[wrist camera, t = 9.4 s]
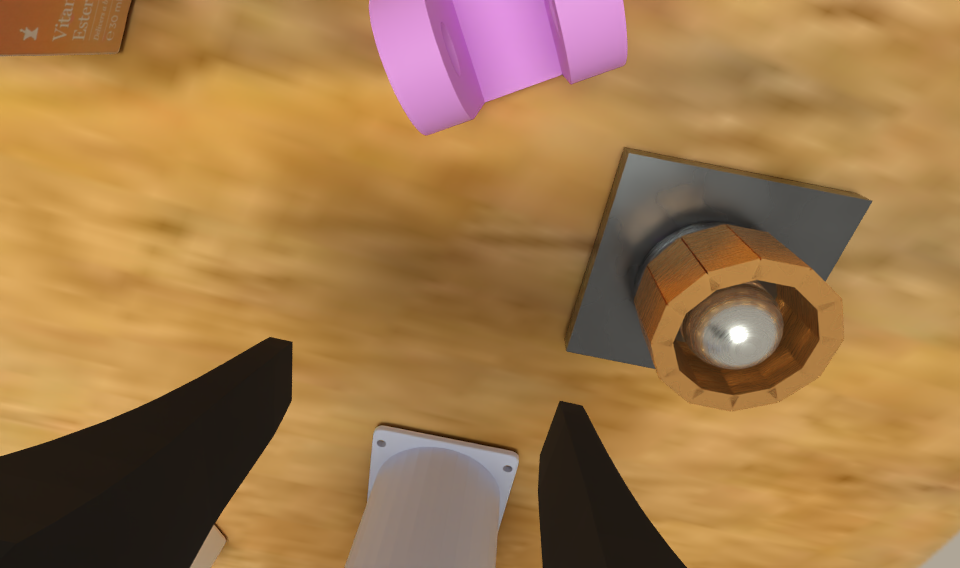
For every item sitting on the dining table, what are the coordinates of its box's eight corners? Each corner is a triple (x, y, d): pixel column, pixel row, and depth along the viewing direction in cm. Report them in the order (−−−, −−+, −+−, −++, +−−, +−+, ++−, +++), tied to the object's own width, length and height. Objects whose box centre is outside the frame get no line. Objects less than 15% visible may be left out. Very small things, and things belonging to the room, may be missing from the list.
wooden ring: (754, 371, 20) (789, 423, 17) (617, 343, 20) (630, 391, 17) (826, 243, 17) (881, 282, 14) (666, 212, 17) (691, 244, 14)
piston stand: (752, 376, 22) (815, 472, 17) (564, 338, 22) (574, 424, 18) (855, 193, 18) (977, 251, 13) (624, 147, 18) (659, 188, 13)
